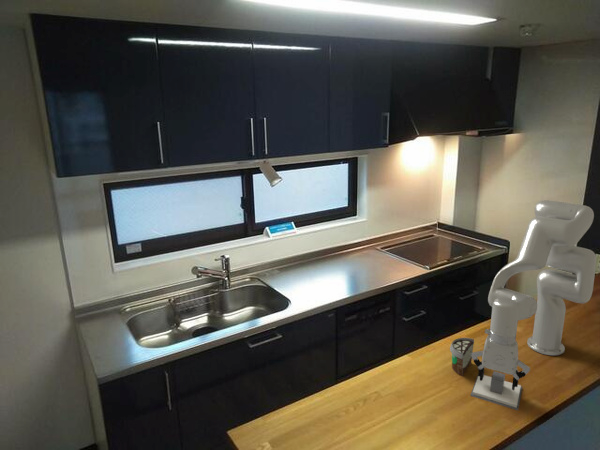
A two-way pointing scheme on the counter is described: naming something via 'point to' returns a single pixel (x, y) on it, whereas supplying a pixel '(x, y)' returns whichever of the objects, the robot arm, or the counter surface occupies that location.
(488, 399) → the mat
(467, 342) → the food container
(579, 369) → the counter surface
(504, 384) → the lid
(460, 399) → the counter surface
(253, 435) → the counter surface
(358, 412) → the counter surface
